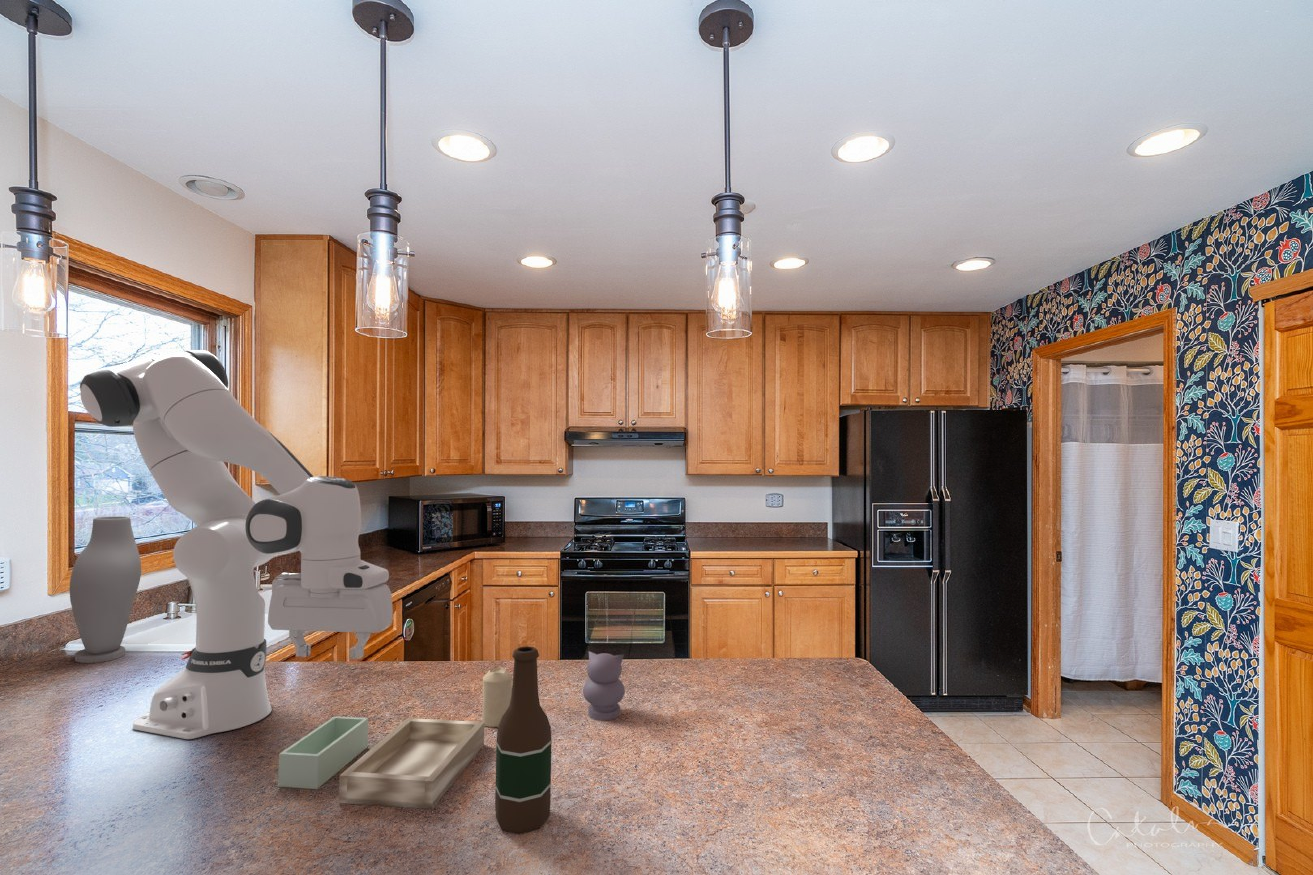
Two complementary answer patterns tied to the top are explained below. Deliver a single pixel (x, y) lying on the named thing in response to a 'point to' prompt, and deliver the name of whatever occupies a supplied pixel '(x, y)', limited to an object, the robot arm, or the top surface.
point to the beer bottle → (523, 752)
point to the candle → (496, 696)
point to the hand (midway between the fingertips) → (329, 656)
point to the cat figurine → (604, 686)
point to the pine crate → (412, 764)
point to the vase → (105, 588)
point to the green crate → (322, 752)
